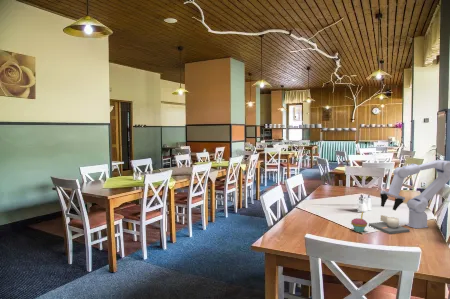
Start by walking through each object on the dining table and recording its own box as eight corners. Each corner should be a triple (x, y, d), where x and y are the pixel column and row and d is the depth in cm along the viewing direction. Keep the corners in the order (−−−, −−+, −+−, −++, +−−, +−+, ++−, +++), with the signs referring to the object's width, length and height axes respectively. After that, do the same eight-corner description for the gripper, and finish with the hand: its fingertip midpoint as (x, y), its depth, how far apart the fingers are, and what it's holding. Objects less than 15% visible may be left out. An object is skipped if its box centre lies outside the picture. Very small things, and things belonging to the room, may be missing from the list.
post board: (387, 223, 194) (387, 219, 194) (409, 231, 179) (409, 227, 178) (368, 225, 190) (368, 221, 190) (389, 234, 175) (389, 229, 174)
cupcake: (369, 230, 181) (370, 210, 180) (363, 234, 175) (363, 213, 174) (354, 227, 187) (355, 207, 186) (348, 230, 181) (348, 210, 180)
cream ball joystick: (401, 225, 180) (401, 219, 180) (392, 226, 179) (392, 220, 178) (385, 220, 191) (385, 214, 191) (377, 221, 190) (377, 215, 189)
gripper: (388, 184, 183) (380, 206, 184) (411, 191, 184) (403, 213, 185) (381, 182, 190) (374, 203, 191) (403, 189, 191) (396, 210, 192)
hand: (388, 208), depth 189 cm, fingers open, 7 cm apart
